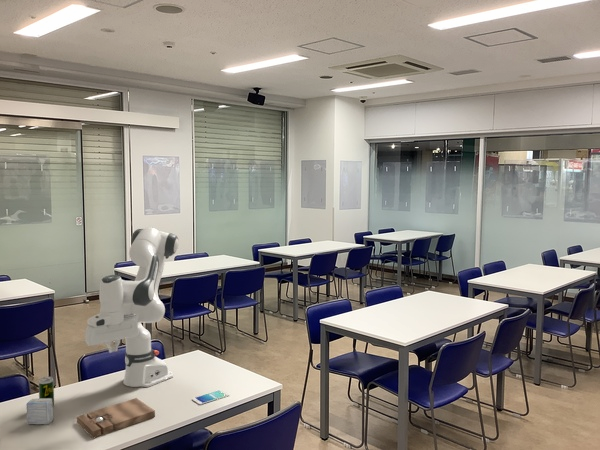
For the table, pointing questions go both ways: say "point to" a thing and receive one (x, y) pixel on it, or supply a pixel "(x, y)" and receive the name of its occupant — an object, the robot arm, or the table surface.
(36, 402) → the medicine box
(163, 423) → the table surface
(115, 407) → the grooved wooden board
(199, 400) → the smartphone
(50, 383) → the beer can
